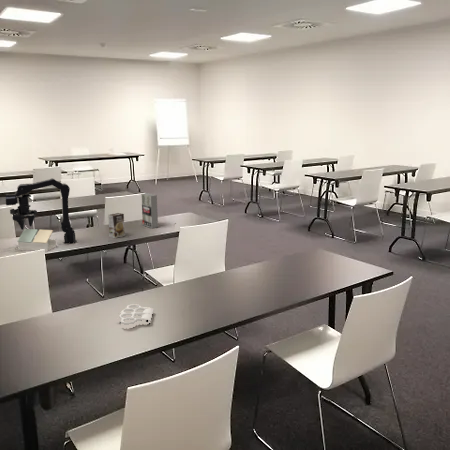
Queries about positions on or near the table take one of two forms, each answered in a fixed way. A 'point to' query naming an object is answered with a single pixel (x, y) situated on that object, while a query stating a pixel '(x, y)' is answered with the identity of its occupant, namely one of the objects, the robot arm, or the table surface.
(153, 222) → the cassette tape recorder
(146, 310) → the white flat holed piece
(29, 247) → the white tray
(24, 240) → the lid outer
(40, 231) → the lid inner
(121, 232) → the coffee box
